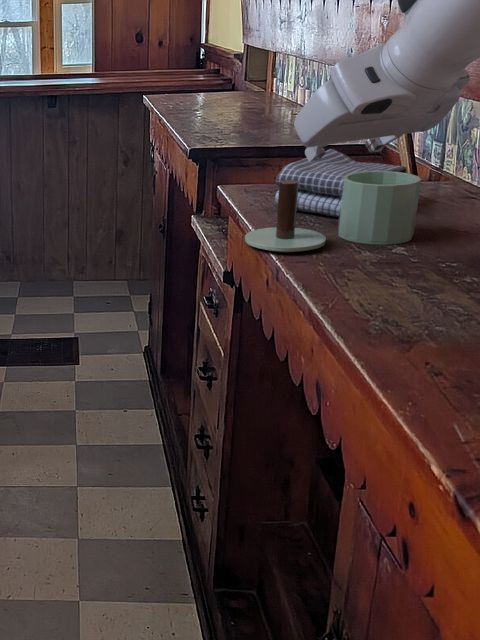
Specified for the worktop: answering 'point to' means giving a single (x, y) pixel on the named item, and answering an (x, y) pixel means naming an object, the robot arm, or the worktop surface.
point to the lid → (286, 226)
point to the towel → (325, 180)
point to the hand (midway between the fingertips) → (341, 152)
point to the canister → (378, 207)
